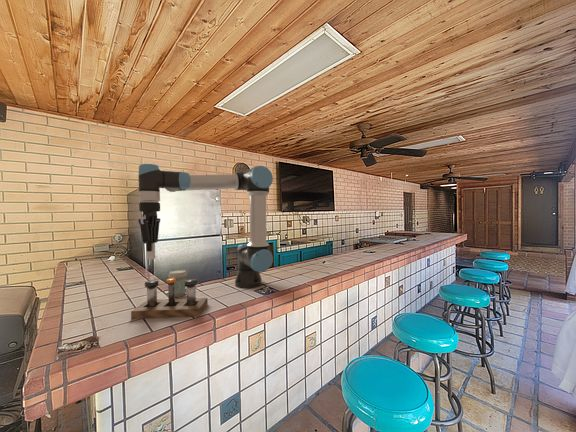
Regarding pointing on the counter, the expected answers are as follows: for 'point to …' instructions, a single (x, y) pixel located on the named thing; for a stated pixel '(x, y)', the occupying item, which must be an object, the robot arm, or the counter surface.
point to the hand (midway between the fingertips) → (150, 258)
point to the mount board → (169, 309)
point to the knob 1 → (151, 292)
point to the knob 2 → (191, 291)
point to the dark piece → (171, 290)
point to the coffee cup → (179, 281)
